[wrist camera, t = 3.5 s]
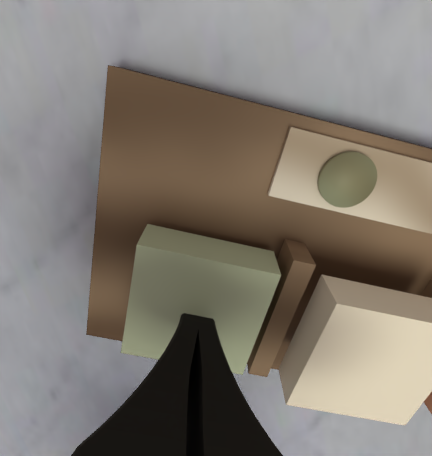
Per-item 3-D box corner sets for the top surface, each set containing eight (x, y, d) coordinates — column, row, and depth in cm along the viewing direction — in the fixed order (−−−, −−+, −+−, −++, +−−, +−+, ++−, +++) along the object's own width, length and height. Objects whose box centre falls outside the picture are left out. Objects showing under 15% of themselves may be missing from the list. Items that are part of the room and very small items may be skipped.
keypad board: (489, 390, 21) (535, 444, 18) (95, 316, 19) (71, 363, 16) (654, 206, 16) (764, 237, 12) (119, 67, 13) (87, 61, 10)
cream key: (384, 388, 17) (405, 425, 15) (278, 368, 16) (286, 404, 14) (444, 300, 14) (477, 332, 12) (321, 274, 14) (336, 303, 12)
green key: (240, 343, 17) (242, 374, 15) (131, 323, 17) (120, 352, 15) (273, 251, 15) (281, 275, 13) (147, 223, 14) (136, 244, 12)
